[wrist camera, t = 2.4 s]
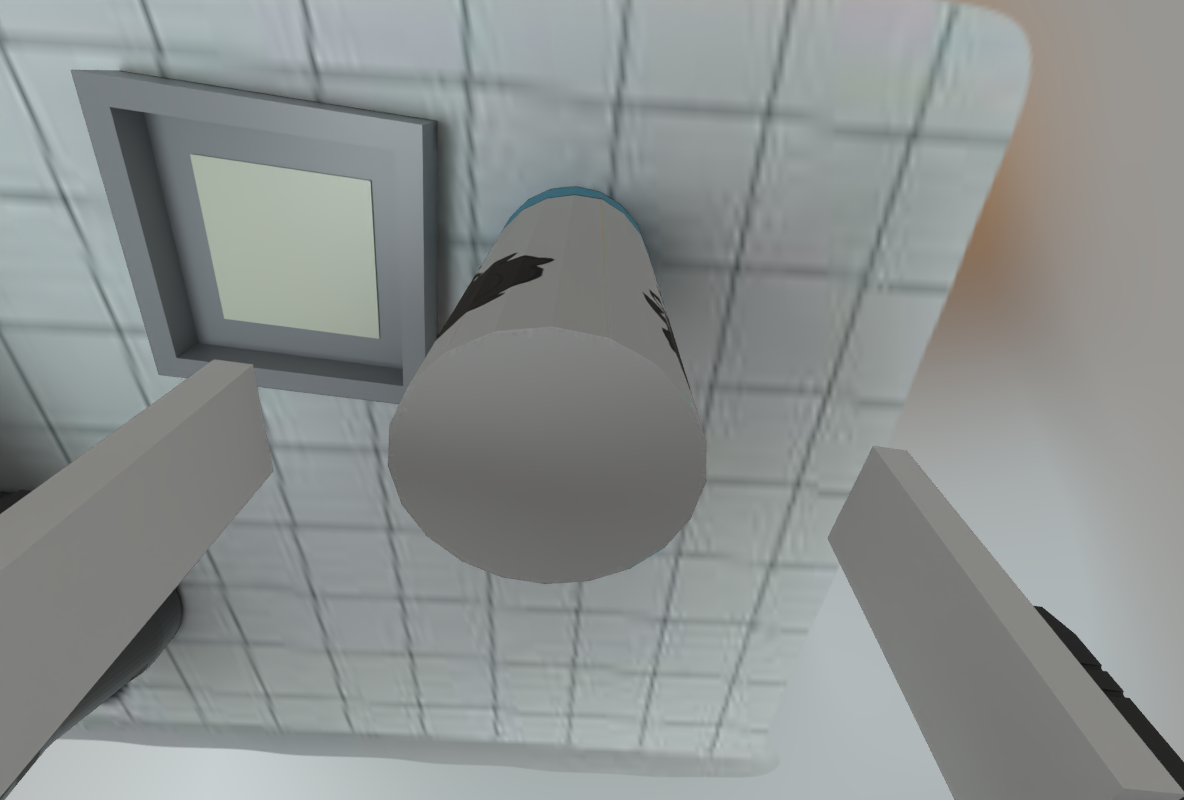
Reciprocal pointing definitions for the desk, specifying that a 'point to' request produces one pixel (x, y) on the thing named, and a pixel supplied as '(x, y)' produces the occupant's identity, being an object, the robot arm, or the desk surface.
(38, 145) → the desk surface
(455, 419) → the cup
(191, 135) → the tray
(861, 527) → the robot arm
